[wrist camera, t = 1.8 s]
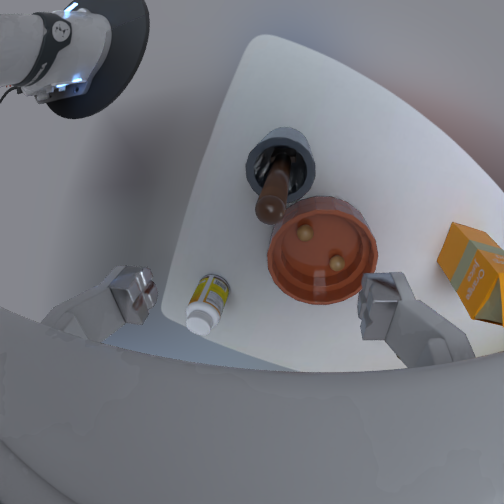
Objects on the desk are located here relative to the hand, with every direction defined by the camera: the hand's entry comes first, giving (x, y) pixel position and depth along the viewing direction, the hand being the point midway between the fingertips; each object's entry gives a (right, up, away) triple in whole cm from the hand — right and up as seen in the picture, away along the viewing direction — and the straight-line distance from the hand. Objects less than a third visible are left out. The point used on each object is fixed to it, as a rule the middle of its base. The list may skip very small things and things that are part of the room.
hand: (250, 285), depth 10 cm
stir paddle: (+4, +14, +24) cm, 28 cm away
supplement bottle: (-6, -5, +38) cm, 39 cm away
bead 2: (+13, 0, +30) cm, 32 cm away
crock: (+5, +15, +24) cm, 29 cm away
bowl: (+11, +3, +30) cm, 32 cm away
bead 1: (+8, +4, +28) cm, 29 cm away
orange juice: (+36, +2, +26) cm, 45 cm away
